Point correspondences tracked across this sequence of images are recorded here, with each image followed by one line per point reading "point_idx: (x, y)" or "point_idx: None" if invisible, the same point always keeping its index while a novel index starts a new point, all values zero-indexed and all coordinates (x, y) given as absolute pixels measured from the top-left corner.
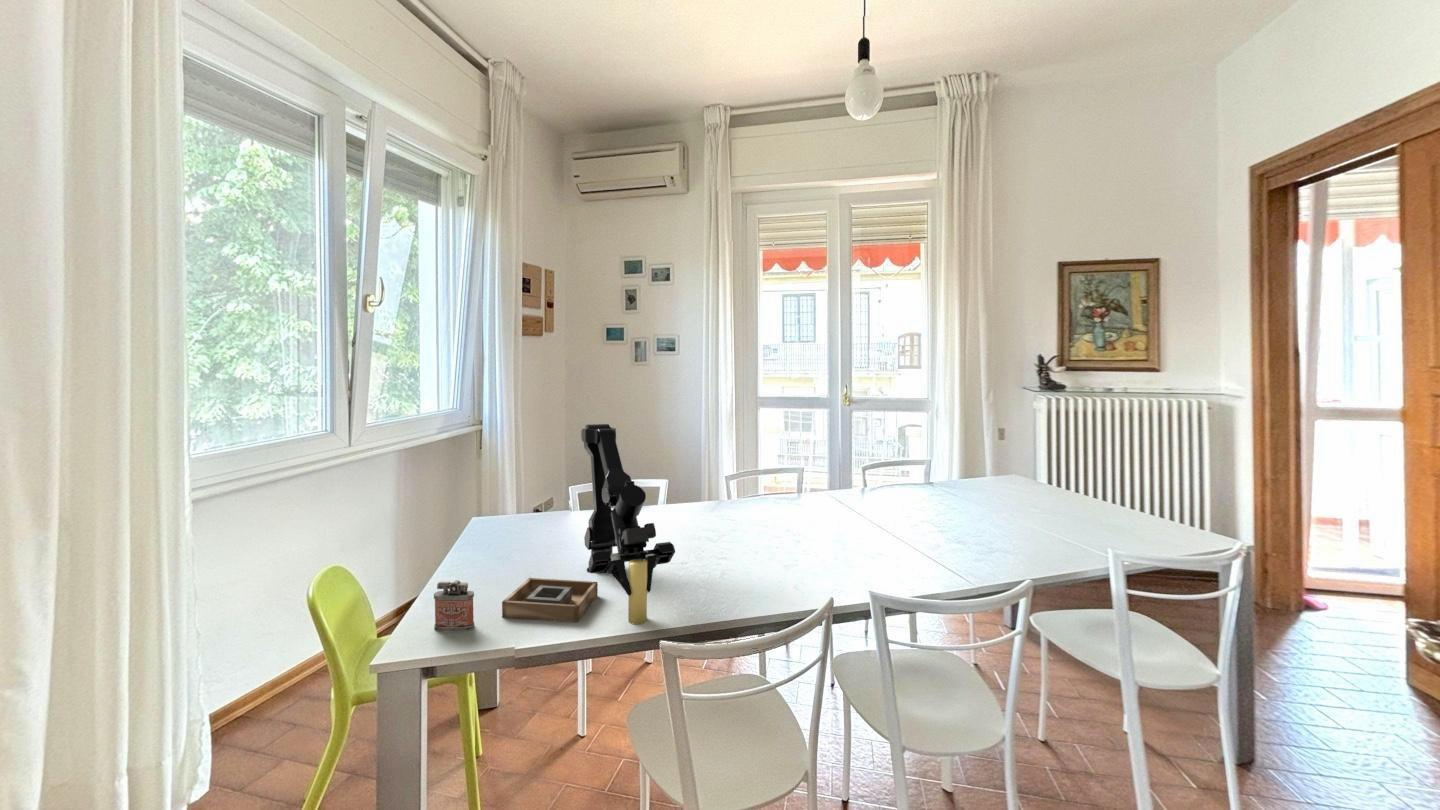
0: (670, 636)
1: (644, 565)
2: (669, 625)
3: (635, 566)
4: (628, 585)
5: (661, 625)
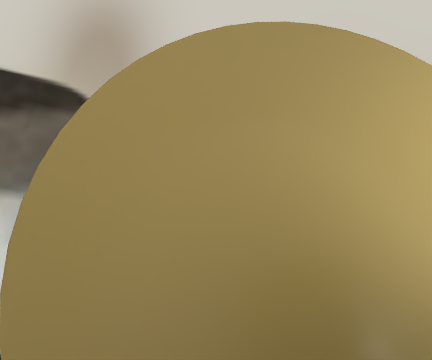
0: (43, 110)
1: (148, 69)
2: (12, 221)
3: (369, 59)
4: None
5: None
